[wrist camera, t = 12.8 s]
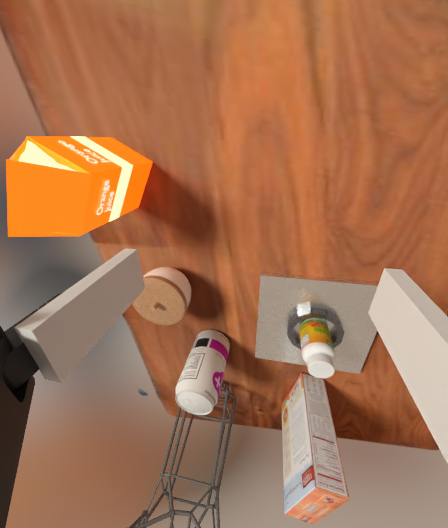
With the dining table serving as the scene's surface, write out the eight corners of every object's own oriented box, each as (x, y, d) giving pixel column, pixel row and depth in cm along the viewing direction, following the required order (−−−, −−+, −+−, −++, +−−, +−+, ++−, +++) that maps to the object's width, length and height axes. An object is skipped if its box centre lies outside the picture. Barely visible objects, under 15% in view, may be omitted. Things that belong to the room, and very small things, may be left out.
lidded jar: (157, 249, 45) (131, 273, 37) (205, 273, 45) (190, 302, 37) (145, 287, 50) (120, 315, 42) (188, 308, 51) (171, 340, 43)
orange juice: (101, 185, 41) (-26, 218, 24) (111, 136, 37) (-36, 133, 19) (139, 208, 42) (42, 256, 24) (154, 162, 37) (48, 181, 20)
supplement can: (231, 331, 51) (216, 395, 39) (229, 356, 55) (214, 421, 43) (197, 324, 53) (171, 384, 40) (197, 349, 57) (173, 410, 44)
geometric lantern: (185, 363, 60) (99, 586, 30) (244, 374, 58) (215, 626, 28) (187, 398, 68) (119, 606, 37) (239, 409, 66) (213, 639, 35)
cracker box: (303, 409, 59) (314, 526, 41) (280, 402, 60) (282, 514, 42) (326, 378, 52) (352, 503, 34) (301, 370, 53) (313, 489, 35)
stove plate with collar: (391, 283, 39) (399, 293, 36) (357, 368, 49) (362, 380, 47) (261, 272, 43) (260, 279, 40) (255, 353, 53) (254, 363, 51)
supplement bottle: (333, 324, 43) (347, 368, 35) (317, 341, 46) (326, 386, 38) (308, 312, 43) (315, 353, 35) (293, 330, 46) (297, 372, 38)
